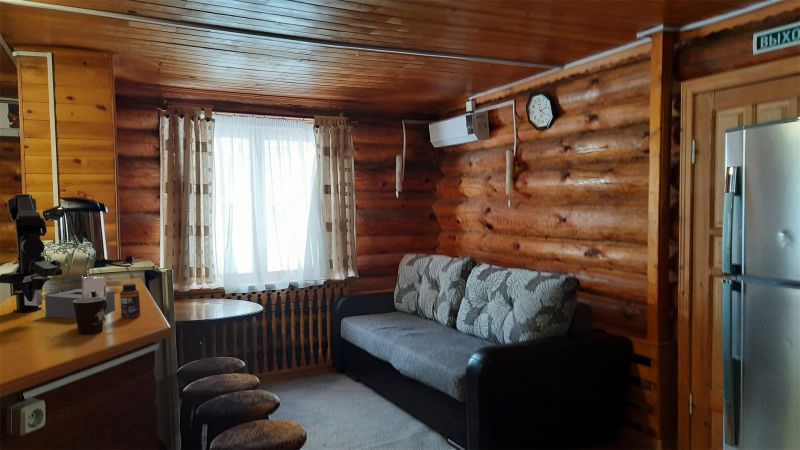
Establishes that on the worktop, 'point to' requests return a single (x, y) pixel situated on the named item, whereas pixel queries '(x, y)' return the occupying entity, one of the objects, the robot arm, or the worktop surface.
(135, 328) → the worktop surface
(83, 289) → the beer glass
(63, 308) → the coin box
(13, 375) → the worktop surface
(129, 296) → the supplement bottle
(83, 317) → the coffee mug
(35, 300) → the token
